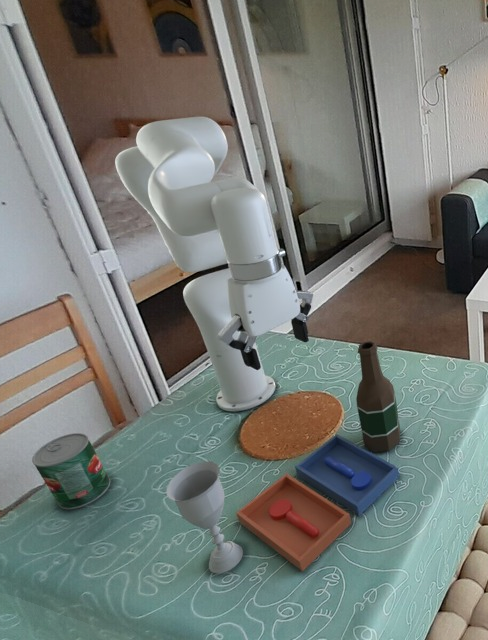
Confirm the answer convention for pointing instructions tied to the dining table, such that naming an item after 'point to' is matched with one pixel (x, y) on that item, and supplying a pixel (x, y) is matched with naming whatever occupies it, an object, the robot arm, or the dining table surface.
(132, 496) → the dining table surface
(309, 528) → the red spoon
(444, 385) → the dining table surface
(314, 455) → the blue tray
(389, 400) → the beer bottle
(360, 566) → the dining table surface
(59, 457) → the canned tomato
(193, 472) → the chalice
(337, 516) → the terracotta tray
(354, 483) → the blue spoon
